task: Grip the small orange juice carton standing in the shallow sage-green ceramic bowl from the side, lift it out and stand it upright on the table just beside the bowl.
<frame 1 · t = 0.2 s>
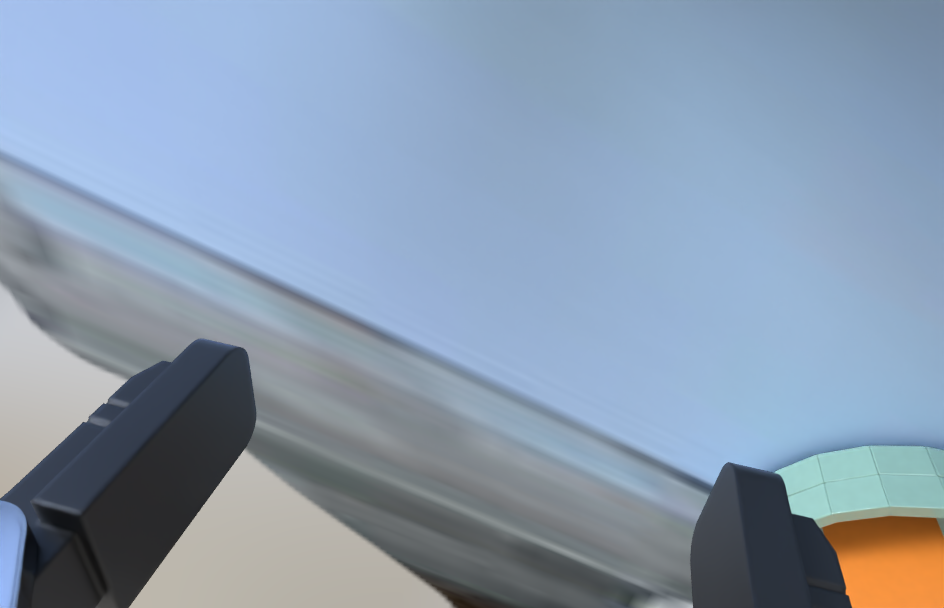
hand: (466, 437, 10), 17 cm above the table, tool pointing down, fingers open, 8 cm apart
carton: (879, 538, 33), resting on bowl
bowl: (876, 529, 34), on the table
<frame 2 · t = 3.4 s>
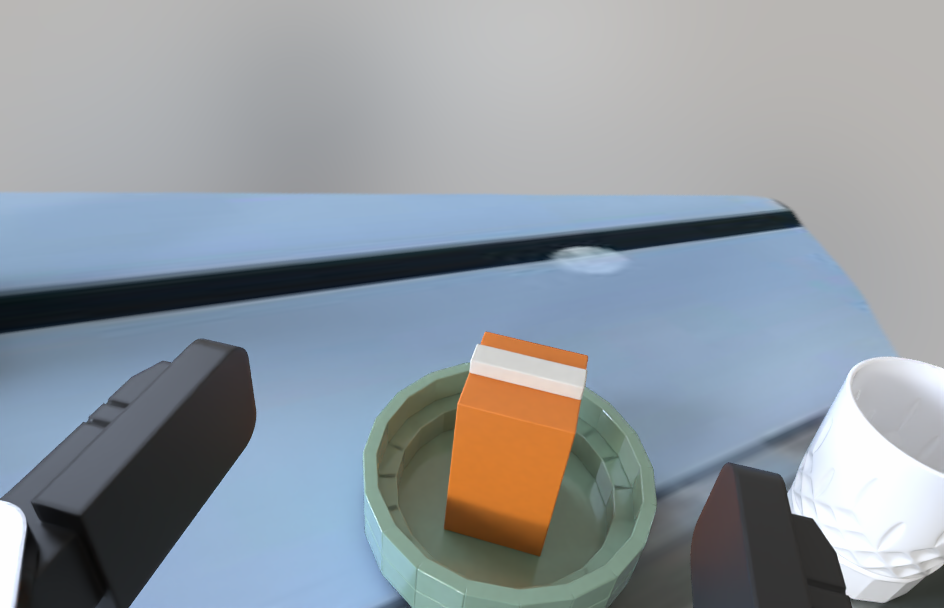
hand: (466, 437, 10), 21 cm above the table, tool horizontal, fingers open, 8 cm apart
carton: (501, 502, 33), resting on bowl
bowl: (500, 507, 34), on the table
white cup: (840, 544, 34), on the table
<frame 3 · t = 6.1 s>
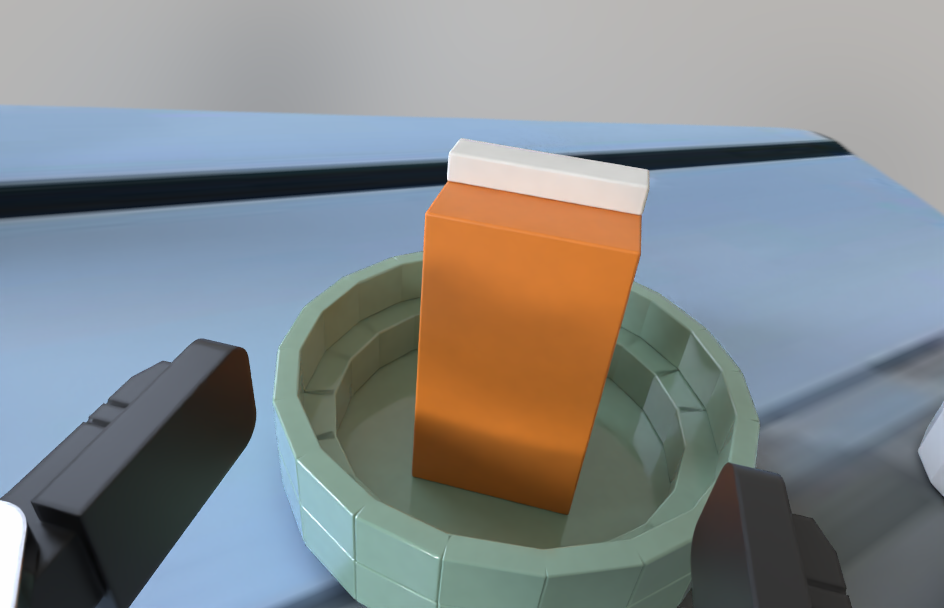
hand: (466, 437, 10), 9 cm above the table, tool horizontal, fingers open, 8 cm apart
carton: (503, 439, 21), resting on bowl
bowl: (501, 449, 22), on the table
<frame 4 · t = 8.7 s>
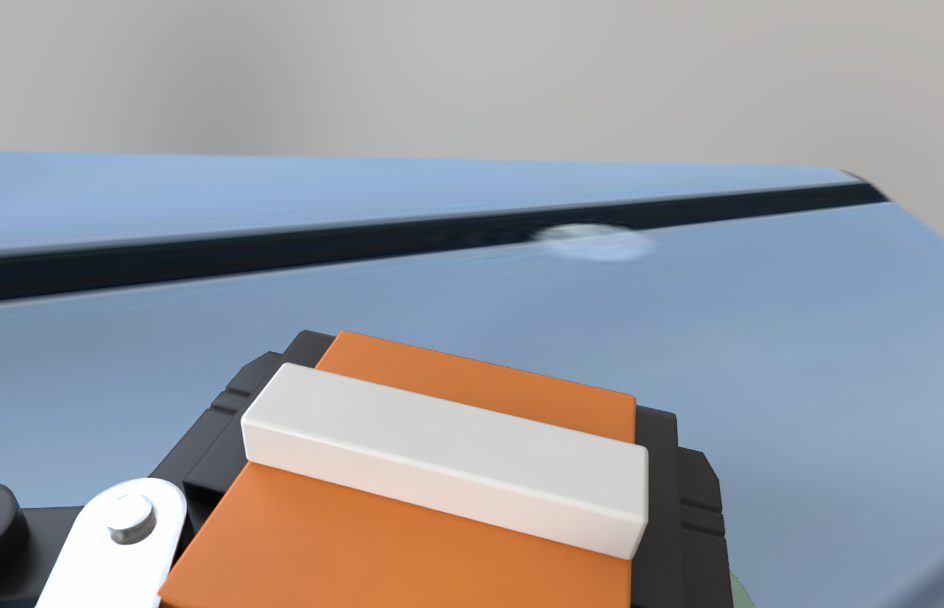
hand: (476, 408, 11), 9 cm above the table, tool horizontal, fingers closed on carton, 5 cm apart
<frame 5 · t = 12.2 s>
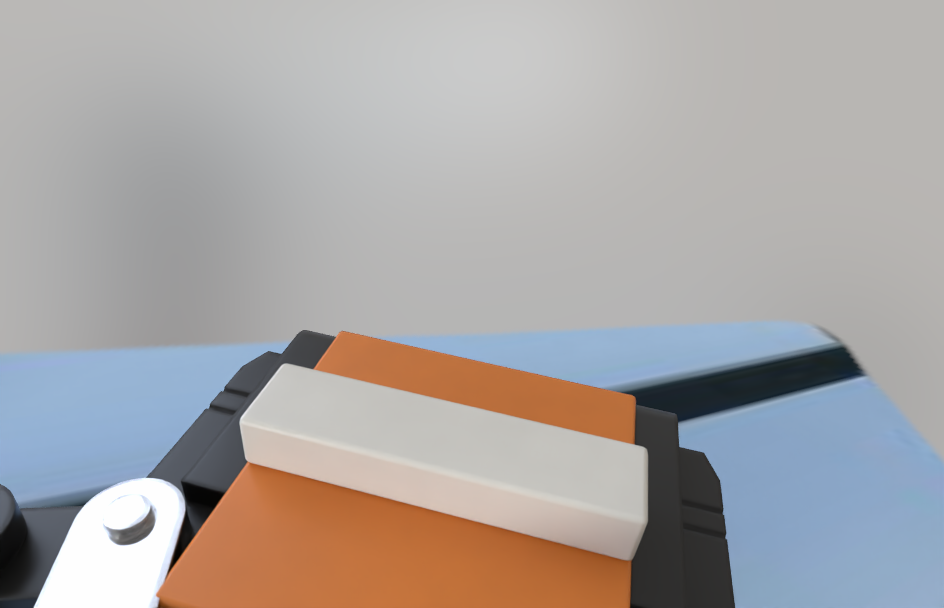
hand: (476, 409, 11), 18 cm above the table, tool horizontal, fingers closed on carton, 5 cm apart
when the fingers open (8 cm above the table, at t = 15.8 s): carton stays where it is, on the table.
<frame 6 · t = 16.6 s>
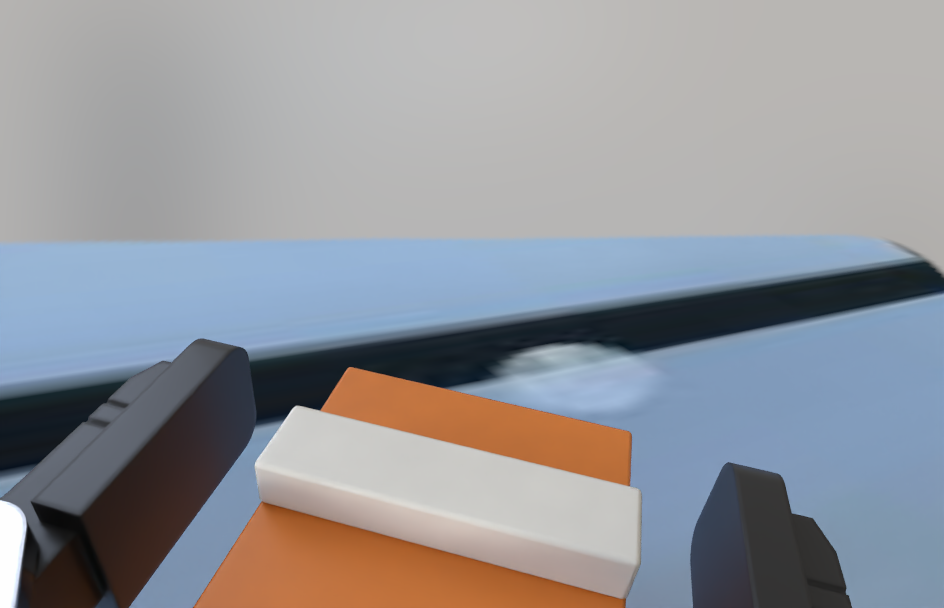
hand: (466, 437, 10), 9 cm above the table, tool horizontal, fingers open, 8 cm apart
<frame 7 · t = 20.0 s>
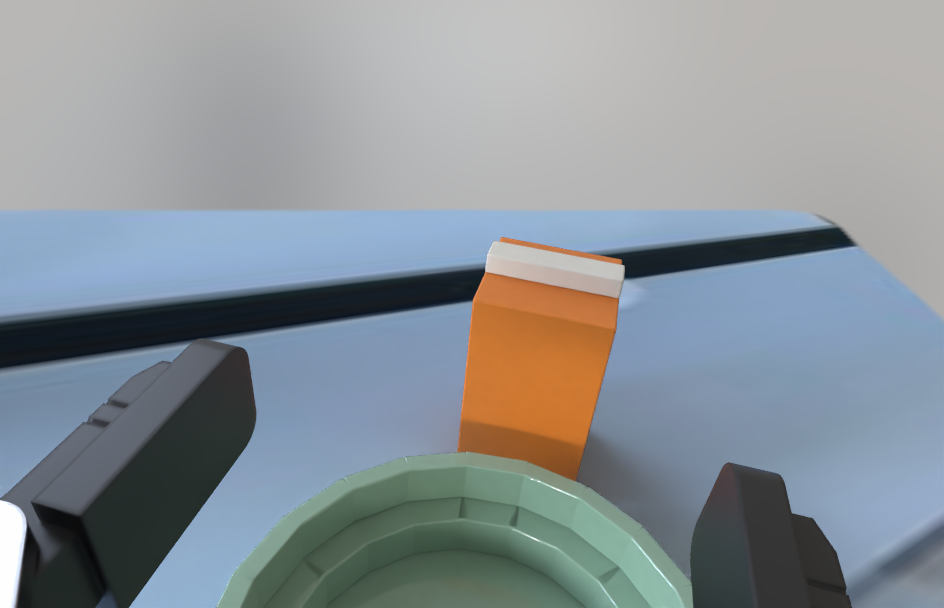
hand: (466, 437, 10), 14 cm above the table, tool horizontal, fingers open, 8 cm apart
carton: (521, 448, 29), on the table
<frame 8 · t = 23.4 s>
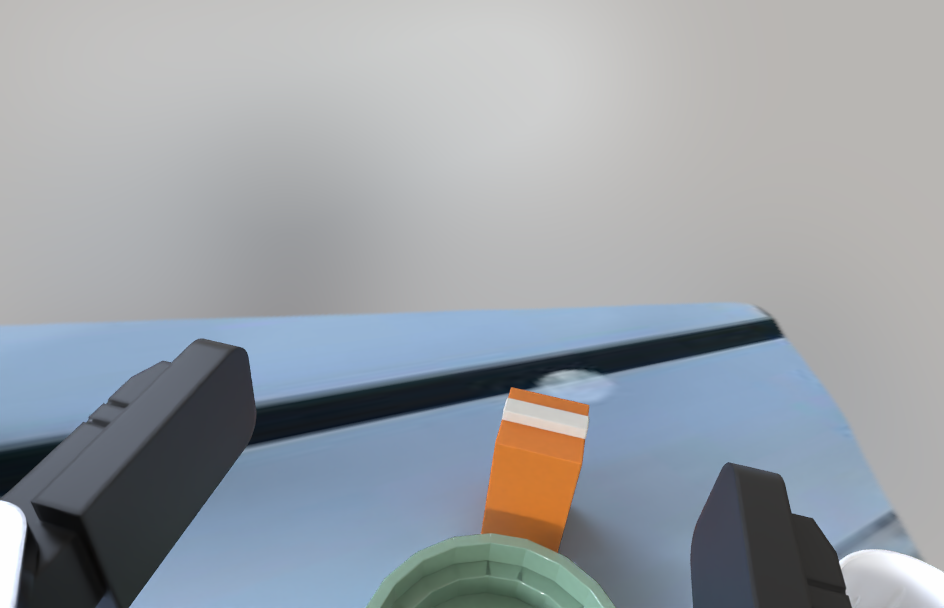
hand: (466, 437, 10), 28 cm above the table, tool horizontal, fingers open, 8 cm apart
carton: (523, 519, 43), on the table
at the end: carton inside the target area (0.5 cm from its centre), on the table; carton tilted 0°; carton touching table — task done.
